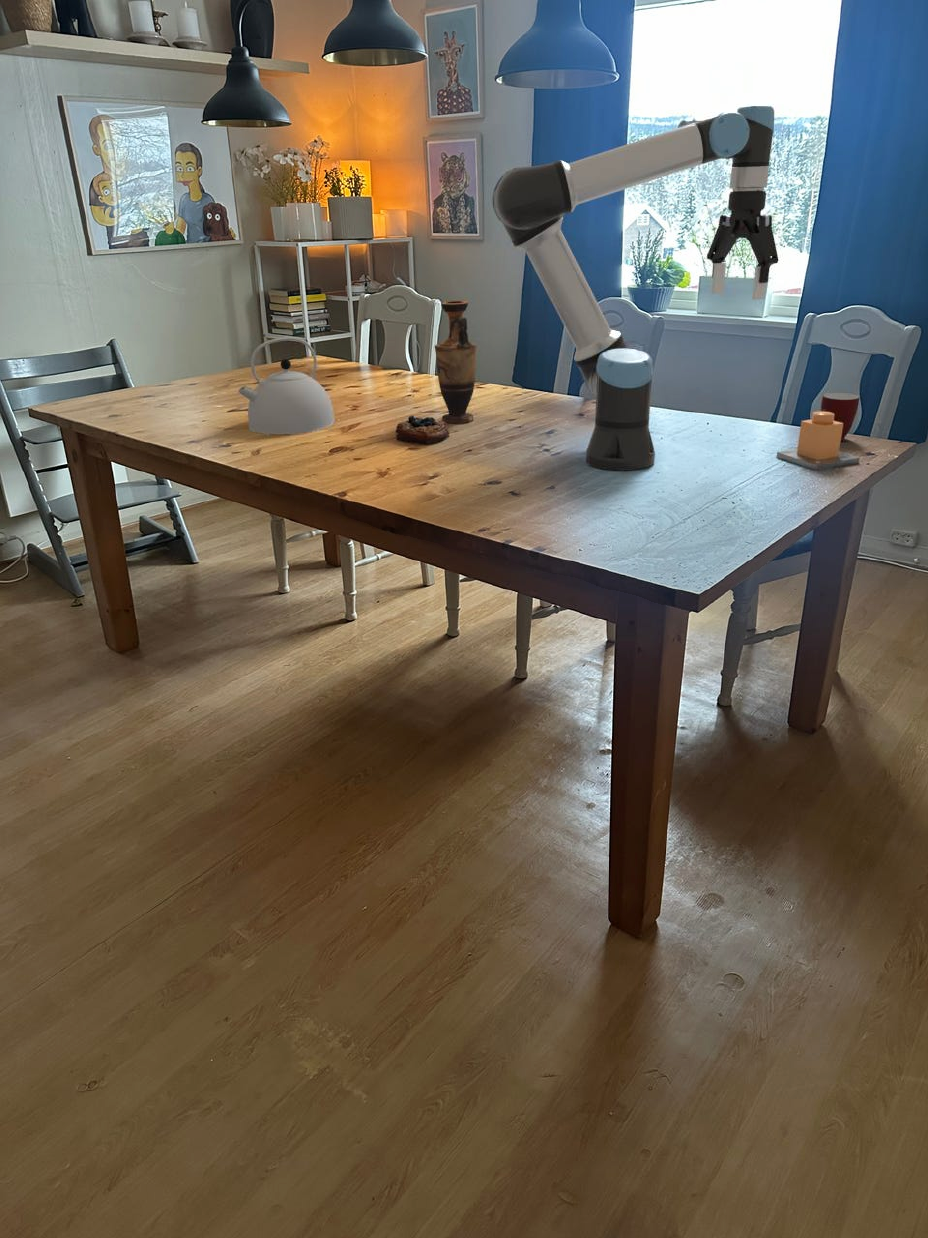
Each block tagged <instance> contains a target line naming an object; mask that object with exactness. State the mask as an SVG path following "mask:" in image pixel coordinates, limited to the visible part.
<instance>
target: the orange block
mask: <svg viewBox="0 0 928 1238" xmlns="http://www.w3.org/2000/svg"><path fill="white" fill-rule="evenodd" d="M834 415H835V414H834V413H831V412H822V411H821V410H820V411H814V412H812V416H811V419H806V420H800V421H801V422H800V428H799V429H800V430H799V435H798V442H797V443H798V444H797V449H798V450H797V454H800V455H803V456H806V457H809V458H813V459H816V460H820V459H825V458H831V457H837V456H838V454H839V452H840V448H841V441H842V440H841V436H842V429H843V423H841V422H837V421H834Z"/></svg>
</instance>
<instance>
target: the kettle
mask: <svg viewBox="0 0 928 1238" xmlns="http://www.w3.org/2000/svg"><path fill="white" fill-rule="evenodd" d="M287 341H288V342H289V341H292V342H293V341H294V342H299V343H301V344H303V345H304V346H305V347H307V349H308V350H309V351H310V352H311V354H312V355H311V356H312V358H313V366H312V367H313V368H312V371H311V373H310V375H307V374H306V373H304V372H299V371H294V370H289V369H290V368H291V361H290V360H289V359H286V358H285V359H282V360H281V361H280V367H281V368H282V369H283V371H278V372H274V373H272V374H270V375H268V376H266V378H265V379H263V380H260V378H259V377H258V374H257V373H256V370H255V359H256V356H257V354H258V352H259V351H260V350H261V349H263V348H265V347H266V346H268V345H271V344H275V343H279V342H287ZM317 366H318V360H317V356H316V353H315V350H314V349H313V347H312V346H311V345H310V344H309V342H306V341H305V340H303V339H302V338H299V337H294V336H293V337H291V336H289V337H288V336H284V337H278V338H273V339H269V340H267V341H265V342H263V343H261V344H260V345H258V346H257V347H256V348H255V349H254V351H253V353H252V355H251V360H250V367H251V369H250V370H251V373H252V375H253V376H254V379H255V380H256V382H257V384H258V385H257V386H256V387H255V389H254V388H251V387H249V386H246V385H244V386H241V387H240V388H239V389H238V390H237V393H239V394H241V396H243V397H245V398H246V399H248V401H249V402H248V408H247V415H248V416H247V418H248V429H249V430H250V431H252V432H253V431H254V433H256V432H257V433H256V434H261V433H263V434H264V435H270V434H278V435H277V436H280V435H279V434H291V435H300V434H299V433H303V434H308V433H307V432H310V433H313V432H312V431H315V432H318V431H317V430H319V431H322V430H321V429H323V430H325V429H324V428H326V427H328V426H331V425H332V424H333V423H334V421H335V415H334V407H333V404H332V400H331V399H330V397H329V394H328V393H327V391H326V390H325V388H324V387H323V386H322V384H320V383H319V382H318V381H317V380H315V379H314V378H313V377H314V376H315V373H316V371H317ZM334 424H335V423H334ZM332 426H333V425H332ZM332 426H331V427H332ZM326 429H327V428H326Z"/></svg>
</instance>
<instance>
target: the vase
mask: <svg viewBox="0 0 928 1238" xmlns="http://www.w3.org/2000/svg"><path fill="white" fill-rule="evenodd" d="M440 305H441V307H442V309H443V312H445V313H446V315H447V316H448V323H449V324H448V326H449V332H448V333H449V334H448V337H447V339H446V340H444V341H443V342H440V343H437V344H434V351H435V361H436V369H437V378H438V379H437V380H438V386H439V390H440V393H441V395H442V398H443V401H444V404H445V405H446V408H447V410H448V413H446V414H444V415H442V417H441V421H443V422H445V423H446V424H468V423H470V422H472V421H474V419H475V418H474V415H473V414H472V413H468V412H467V410H468V407H469V404H470V402H471V400H472V396H473V394H474V389H475V384H476V383H475V382H476V372H477V371H476V367H477V366H476V365H477V349H478V348H477V346H478V345H477V343H475V342H470V341H469V336H468V335H469V334H468V321H467V317H465V316H463V315H464V312H466V310H467V308H468V306H469V301H468V300H467V301H466V300H449V301H443V302H441V303H440Z"/></svg>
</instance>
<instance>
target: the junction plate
mask: <svg viewBox="0 0 928 1238" xmlns="http://www.w3.org/2000/svg"><path fill="white" fill-rule="evenodd" d="M797 450H798V448H794V449H787V450H781V451H777V452H776V458H778V459H780V460H783V461H786V462H789V463H791V464H792V463H793V464H795V465H799V466H801V467H804V468H807V469H810V470H813V471H817V472H818V471H821V470H827V469H828V470H829V469H833V468H837V467H838V468H839V467H844V466H845V467H846V466H849V465H850V466H851V465H856V464H860V457H858V456H855V455H852V454H849V453H845V452H842V451H839V454H838V456H837V457H831V458H825V459H820V460H816V459H813V458H809V457H806V456H803V455H800V454H797Z"/></svg>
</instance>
